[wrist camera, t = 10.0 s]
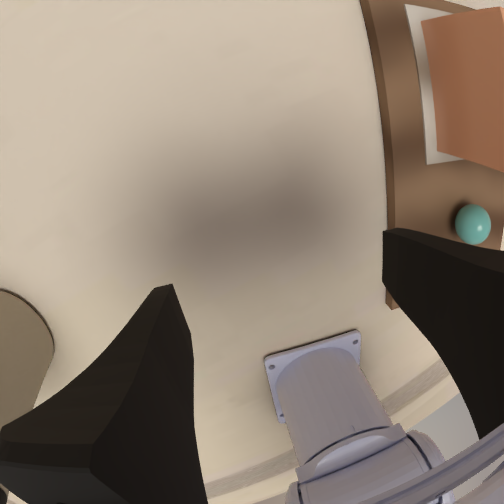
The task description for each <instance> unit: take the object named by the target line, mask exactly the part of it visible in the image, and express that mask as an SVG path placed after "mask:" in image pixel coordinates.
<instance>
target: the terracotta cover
mask: <svg viewBox="0 0 504 504" xmlns="http://www.w3.org/2000/svg"><path fill="white" fill-rule="evenodd" d="M421 26H422V31H423V35H424V40H425V46H426V51H427V57H428V63H429V69H430V76H431V84H432V92H433V101H434V111H435V123H436V139H437V151H439V152H442V153H446V154H449V155H453V156H456V157H459V158H462V159H466V160H469V161H472V162H475V163H478V164H481V165H484V166H487V167H490V168H492V169H495V170H498V171H501V172H504V8H502V7H493V8H485V9H479V10H472V11H466V12H461V13H455V14H450V15H445V16H441V17H436V18H432V19H428V20H423V21H421Z"/></svg>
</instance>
